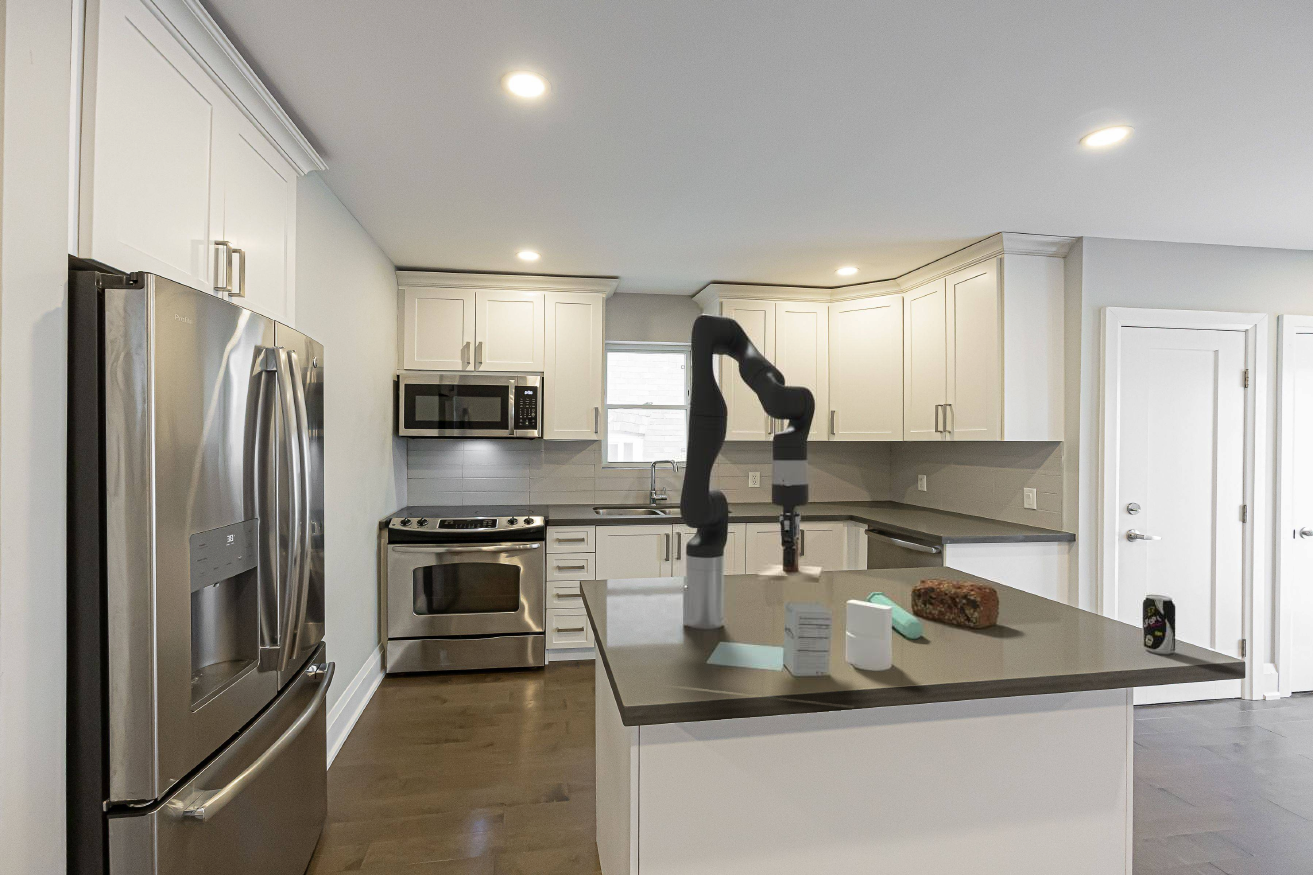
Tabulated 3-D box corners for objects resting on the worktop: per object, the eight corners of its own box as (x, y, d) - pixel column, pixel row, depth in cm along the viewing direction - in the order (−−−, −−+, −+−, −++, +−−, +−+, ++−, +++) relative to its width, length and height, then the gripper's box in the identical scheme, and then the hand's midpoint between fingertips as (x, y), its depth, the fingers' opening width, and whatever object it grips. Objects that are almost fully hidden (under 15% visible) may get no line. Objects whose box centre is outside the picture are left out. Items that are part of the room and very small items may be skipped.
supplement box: (781, 663, 136) (784, 600, 136) (817, 663, 137) (820, 601, 137) (791, 676, 129) (795, 610, 129) (829, 677, 129) (833, 611, 129)
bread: (1000, 624, 168) (1000, 584, 168) (977, 631, 162) (977, 589, 162) (932, 608, 183) (932, 572, 183) (908, 614, 177) (909, 576, 177)
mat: (706, 664, 136) (706, 662, 136) (720, 643, 150) (720, 641, 150) (781, 672, 132) (781, 670, 132) (788, 649, 146) (788, 647, 146)
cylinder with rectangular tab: (837, 662, 138) (838, 604, 138) (858, 652, 145) (858, 596, 145) (880, 673, 132) (880, 612, 132) (899, 662, 138) (899, 604, 138)
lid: (757, 579, 136) (757, 544, 136) (765, 568, 147) (765, 536, 147) (818, 582, 132) (818, 546, 132) (822, 571, 144) (821, 538, 144)
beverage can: (1136, 649, 149) (1136, 594, 149) (1152, 646, 151) (1153, 592, 151) (1164, 657, 143) (1165, 600, 143) (1181, 653, 146) (1181, 598, 146)
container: (922, 614, 154) (883, 587, 179) (899, 623, 154) (862, 596, 179) (932, 637, 155) (891, 608, 180) (908, 647, 154) (870, 616, 179)
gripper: (776, 480, 148) (776, 559, 147) (767, 483, 134) (767, 570, 134) (811, 480, 145) (811, 560, 145) (805, 484, 132) (806, 572, 132)
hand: (790, 564), depth 140 cm, fingers closed on lid, 3 cm apart
